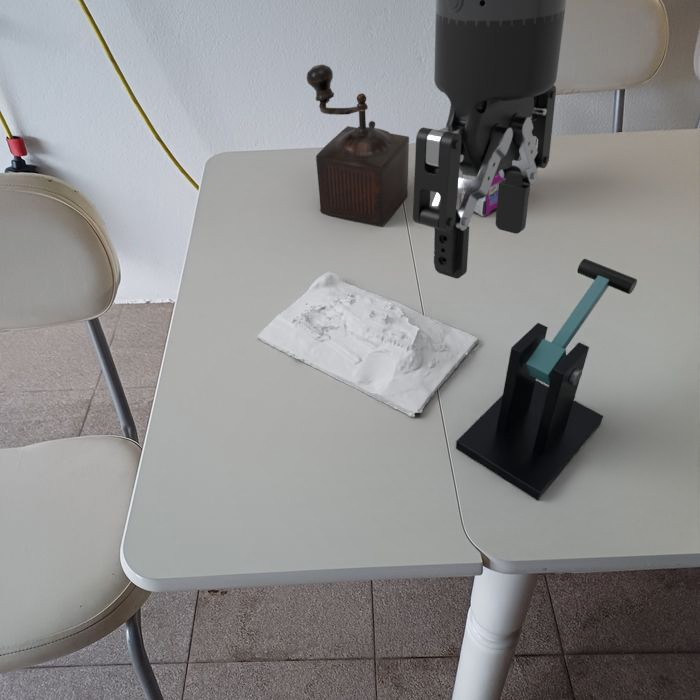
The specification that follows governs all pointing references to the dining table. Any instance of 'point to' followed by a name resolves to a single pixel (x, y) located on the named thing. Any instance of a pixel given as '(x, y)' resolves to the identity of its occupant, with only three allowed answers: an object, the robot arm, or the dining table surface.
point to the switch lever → (576, 318)
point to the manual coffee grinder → (359, 163)
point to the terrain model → (369, 342)
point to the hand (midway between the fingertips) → (481, 250)
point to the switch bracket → (533, 421)
